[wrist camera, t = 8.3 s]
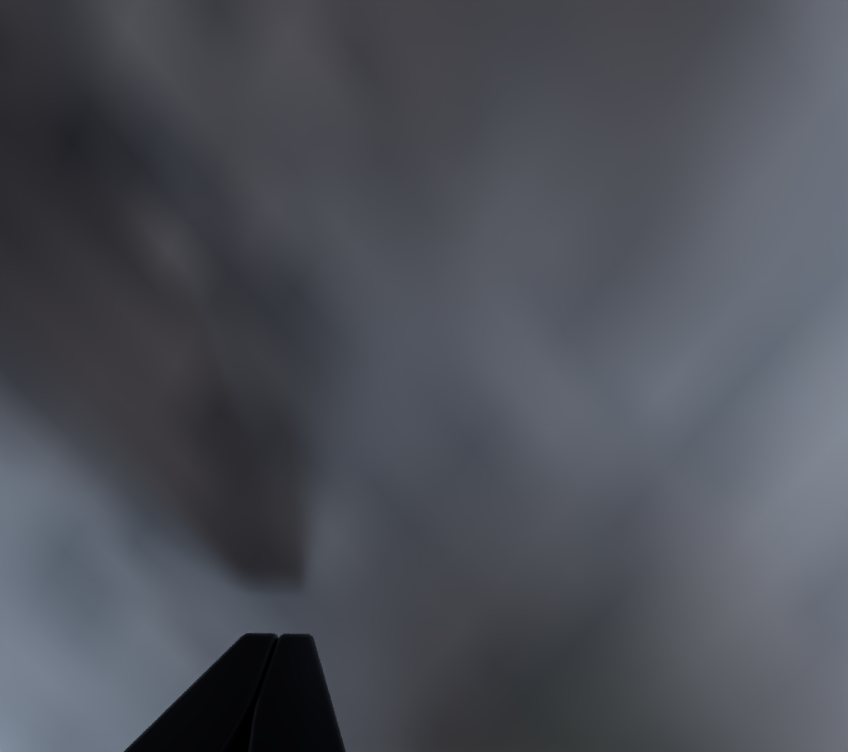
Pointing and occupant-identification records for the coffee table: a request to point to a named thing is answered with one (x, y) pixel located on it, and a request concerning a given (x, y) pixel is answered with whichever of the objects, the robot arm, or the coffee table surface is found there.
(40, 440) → the coffee table surface
